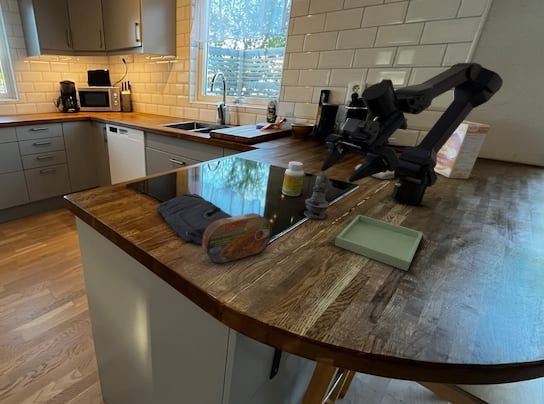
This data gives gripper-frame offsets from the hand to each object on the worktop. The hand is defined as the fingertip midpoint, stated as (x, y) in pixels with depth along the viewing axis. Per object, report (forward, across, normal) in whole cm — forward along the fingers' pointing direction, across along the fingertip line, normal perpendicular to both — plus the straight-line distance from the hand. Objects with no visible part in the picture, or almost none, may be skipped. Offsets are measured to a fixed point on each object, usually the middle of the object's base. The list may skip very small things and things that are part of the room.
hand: (334, 175), depth 75 cm
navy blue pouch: (+32, -6, -17) cm, 37 cm away
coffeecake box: (-45, -17, +59) cm, 76 cm away
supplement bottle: (+8, -15, +8) cm, 18 cm away
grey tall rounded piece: (+10, 0, +5) cm, 11 cm away
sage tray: (+8, +16, +8) cm, 19 cm away
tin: (+31, +11, -15) cm, 36 cm away
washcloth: (-27, -23, +42) cm, 54 cm away
